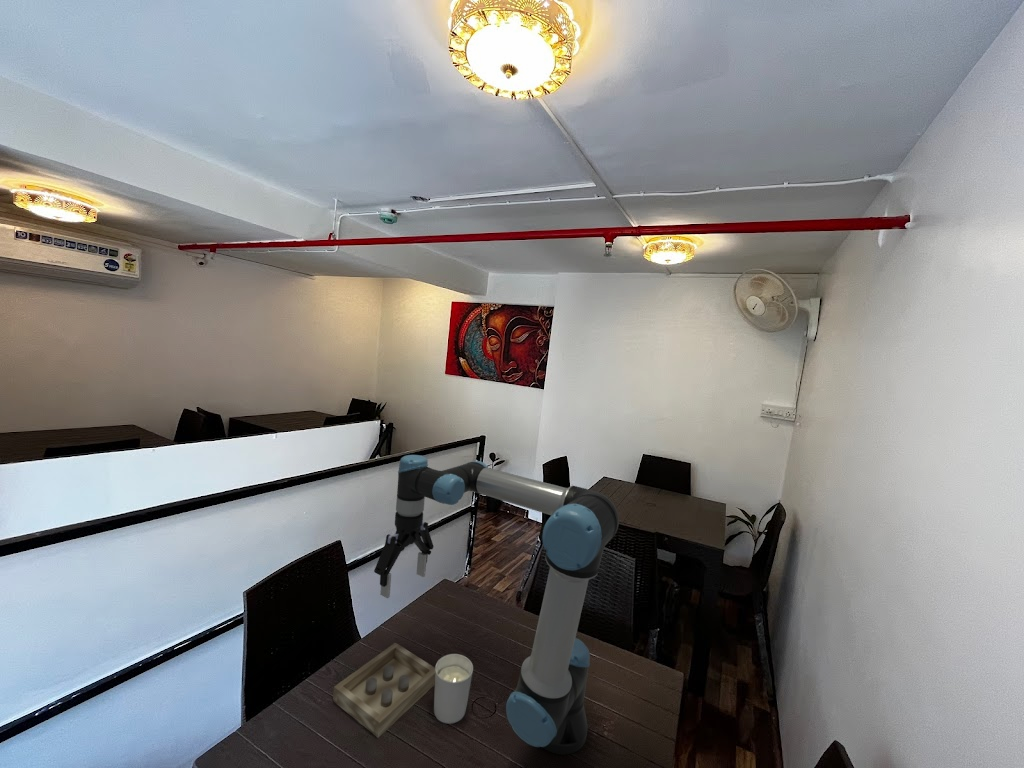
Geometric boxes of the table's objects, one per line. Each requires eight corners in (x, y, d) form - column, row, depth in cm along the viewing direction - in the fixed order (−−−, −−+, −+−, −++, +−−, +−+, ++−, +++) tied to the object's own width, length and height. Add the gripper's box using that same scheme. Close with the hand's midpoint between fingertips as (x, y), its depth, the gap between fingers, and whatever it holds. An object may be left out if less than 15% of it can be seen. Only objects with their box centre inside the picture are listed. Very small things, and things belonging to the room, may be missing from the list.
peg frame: (436, 683, 118) (438, 669, 118) (378, 738, 100) (379, 722, 100) (393, 654, 127) (395, 642, 127) (332, 701, 109) (334, 686, 109)
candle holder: (461, 731, 105) (466, 686, 104) (424, 720, 106) (429, 676, 105) (473, 700, 114) (477, 658, 113) (439, 690, 116) (443, 649, 115)
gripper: (430, 496, 129) (424, 563, 130) (363, 521, 107) (357, 600, 109) (449, 503, 125) (443, 571, 127) (384, 529, 104) (377, 611, 105)
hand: (403, 585), depth 118 cm, fingers open, 13 cm apart
